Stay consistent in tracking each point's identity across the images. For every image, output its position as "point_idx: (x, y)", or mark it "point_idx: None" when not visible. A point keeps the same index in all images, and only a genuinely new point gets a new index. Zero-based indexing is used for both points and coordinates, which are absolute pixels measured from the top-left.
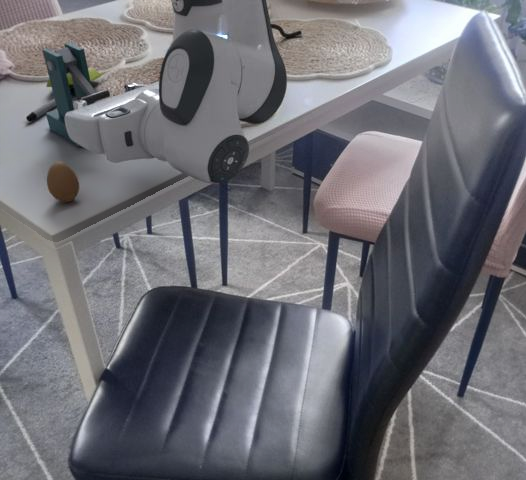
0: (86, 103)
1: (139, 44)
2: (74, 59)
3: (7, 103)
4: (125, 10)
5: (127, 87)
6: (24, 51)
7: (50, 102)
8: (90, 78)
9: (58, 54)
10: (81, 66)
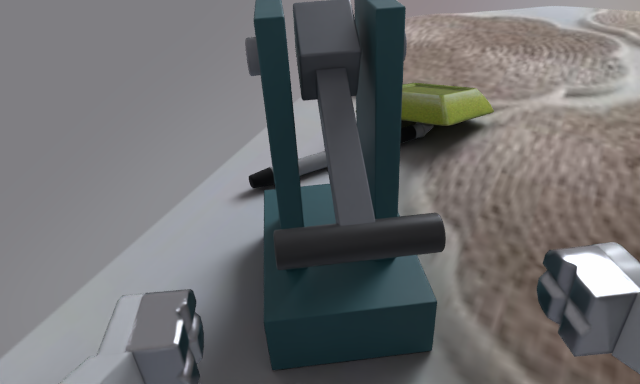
0: (173, 355)
1: (606, 64)
2: (350, 48)
3: None
4: (590, 13)
5: (567, 276)
6: None
7: None
8: (459, 115)
9: (275, 13)
10: (374, 82)
